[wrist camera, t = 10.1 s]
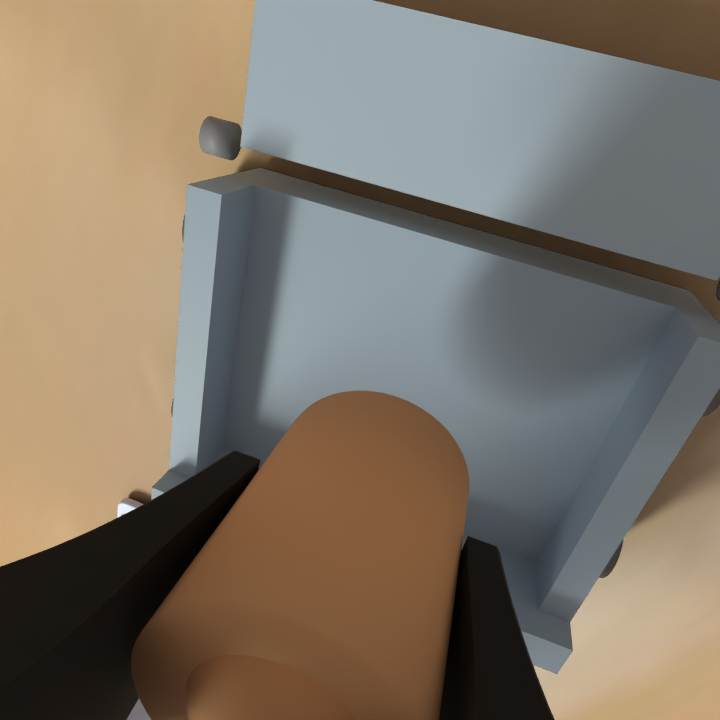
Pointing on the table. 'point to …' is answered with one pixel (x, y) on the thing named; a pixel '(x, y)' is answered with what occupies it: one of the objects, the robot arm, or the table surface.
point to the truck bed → (441, 364)
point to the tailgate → (492, 124)
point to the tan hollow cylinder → (321, 578)
